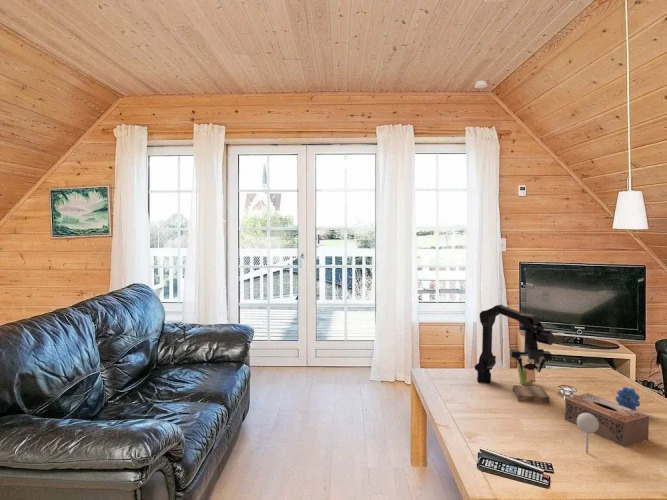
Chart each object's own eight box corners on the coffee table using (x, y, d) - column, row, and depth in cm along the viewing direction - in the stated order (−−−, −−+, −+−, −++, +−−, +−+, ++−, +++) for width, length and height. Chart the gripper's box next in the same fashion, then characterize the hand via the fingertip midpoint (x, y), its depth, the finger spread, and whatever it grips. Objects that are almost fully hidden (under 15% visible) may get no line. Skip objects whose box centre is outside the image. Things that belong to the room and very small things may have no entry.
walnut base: (518, 401, 209) (518, 395, 208) (512, 390, 222) (512, 384, 222) (549, 403, 206) (549, 397, 205) (541, 392, 219) (541, 386, 219)
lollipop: (578, 446, 166) (578, 408, 165) (599, 451, 161) (600, 412, 160) (574, 453, 160) (575, 414, 159) (596, 459, 156) (597, 419, 155)
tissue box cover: (648, 440, 170) (649, 415, 169) (624, 447, 164) (625, 422, 164) (587, 414, 194) (588, 393, 193) (565, 420, 188) (565, 398, 188)
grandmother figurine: (535, 380, 216) (536, 355, 215) (539, 382, 212) (540, 357, 211) (520, 380, 215) (521, 355, 215) (524, 383, 211) (524, 357, 211)
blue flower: (623, 417, 190) (623, 390, 189) (611, 411, 197) (612, 385, 196) (647, 415, 191) (647, 389, 191) (634, 409, 198) (635, 384, 197)
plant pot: (512, 382, 234) (513, 366, 234) (525, 379, 238) (525, 364, 238) (527, 387, 226) (527, 371, 225) (539, 385, 230) (539, 369, 229)
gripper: (514, 343, 207) (513, 375, 207) (556, 345, 203) (555, 378, 203) (509, 338, 218) (509, 368, 218) (549, 339, 213) (549, 370, 214)
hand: (530, 371), depth 213 cm, fingers closed on grandmother figurine, 8 cm apart
